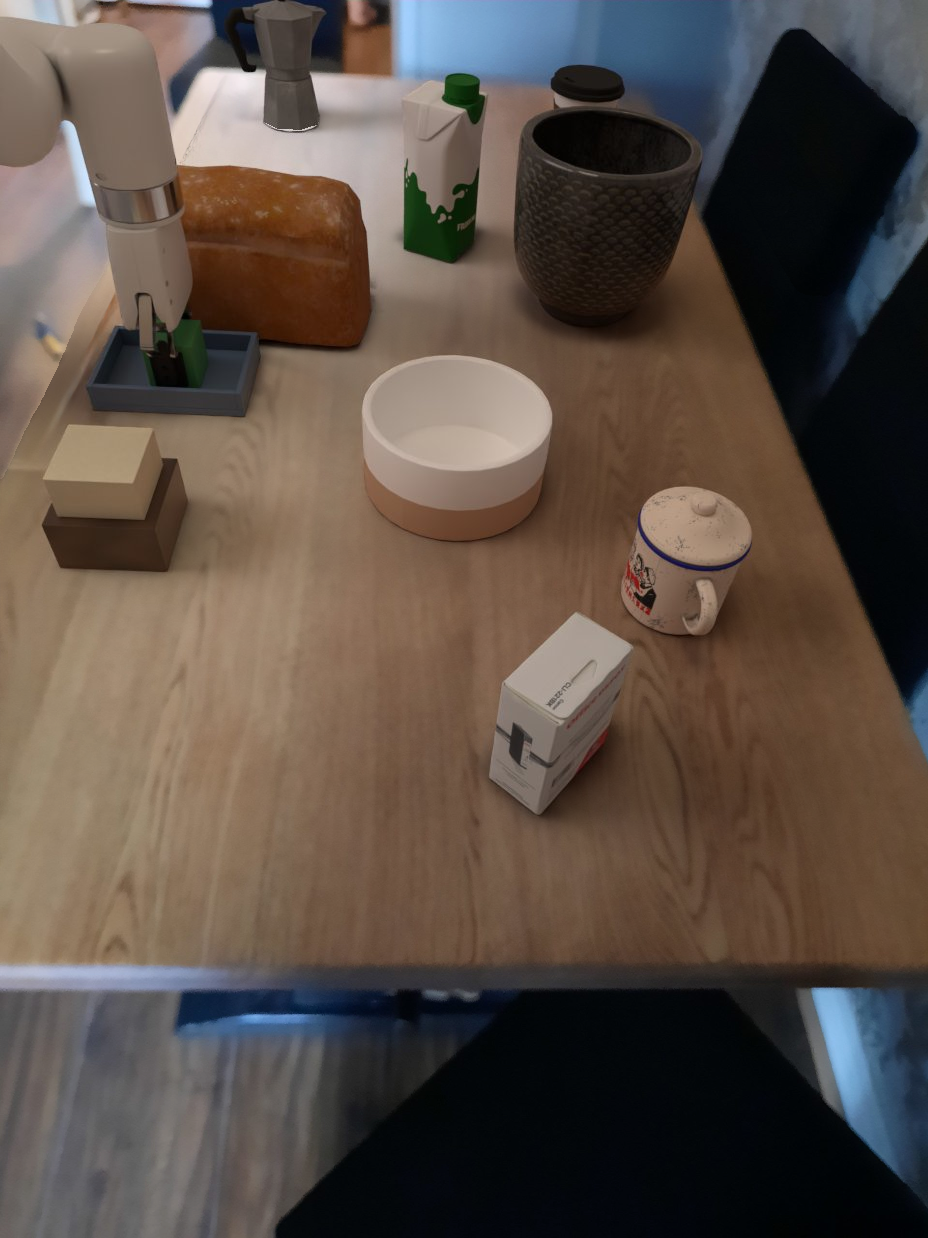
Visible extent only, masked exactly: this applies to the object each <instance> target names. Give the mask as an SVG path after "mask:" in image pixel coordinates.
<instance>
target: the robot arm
mask: <svg viewBox="0 0 928 1238" xmlns="http://www.w3.org/2000/svg"><path fill="white" fill-rule="evenodd" d="M64 121H65V122H70V123H71V124H72V125H73V127H74V129H75V132H76V136H77V139H78V144H79V147H80V150H81V155H82V158H83V161H84V162H83V163H84V165H85V166H84V167H85V169H86V173H87V176H88V181H89V184H90V189H91V192H92V196H93V199H94V203H95V206H96V211H97V215H98V218H100V220H101V221H102V222H104V223H105V238H106V246H107V253H108V259H109V263H110V264H109V265H110V271H111V275H112V280H113V285H114V289H115V294H116V299H117V303H118V308H119V312H120V317H121V321H122V324H123V326H125V328H126V329H127V330H130V331H131V330H135V329H136V327H138V326H137V325H138V323H139V333H140V348H141V350H143V351H146V352H147V356H148V357H149V360H150V363H151V367H152V371H153V375H154V379H155V383H156V386H157V387H176V388H188V385H189V382H188V378H187V373H186V369H185V364H184V360H183V355H182V353H180V352H178V348H177V341H176V333H175V328H176V327H177V326H178V324H179V322H180V319H186V320H191V319H192V309H191V306H190V303H189V300H188V299H189V296H190V293H191V290H192V284H193V278H192V270H191V264H190V258H189V253H188V248H187V244H186V239H185V235H184V231H183V227H182V223H181V219H180V217H181V216H182V215H183V214H184V211H185V204H184V199H183V194H182V189H181V183H180V178H179V173H178V169H177V165H178V164H177V158H176V152H175V148H174V142H173V137H172V132H171V126H170V120H169V116H168V110H167V105H166V99H165V95H164V90H163V84H162V79H161V75H160V69H159V63H158V58H157V55H156V51H155V48H154V46H153V44H152V42H151V40H150V39H149V37H147V35H145V34H144V33H143V32H142V31H141V30H139V29H137V28H135V27H133V26H129V25H125V24H123V23H122V24H120V23H116V22H115V23H113V22H92V23H85V24H81V25H77V26H70V25H63V24H57V23H50V22H43V21H38V20H33V19H28V18H21V17H15V16H14V17H13V16H0V166H3V167H9V168H25V167H30V166H33V165H35V164H37V163H39V162H41V161H42V160H44V159H45V158H46V157H47V156H48V155H49V154H50V153H51V151H52V150H53V148H54V146H55V145H56V142H57V139H58V136H59V132H60V129H61V123H62V122H64ZM156 319H160V320H161V322H165V323H156ZM156 332H163V333H167V340H168V343H166V342H165V341H164V340H159V339H158V338H157V333H156Z"/></svg>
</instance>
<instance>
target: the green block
mask: <svg viewBox="0 0 928 1238" xmlns="http://www.w3.org/2000/svg"><path fill="white" fill-rule="evenodd" d="M156 323H165V322H161V320H160V319H156ZM156 333H157V338H158V339H159V340H164V341H165V342H166V343H168V340H167V333H163V332H156ZM175 333H176V341H177V348H178V352H180V353H182V355H183V360H184V364H185V369H186V373H187V378H188V382H189V385H188V388H197V389H200V387H201V384H202V381H203V378H204V375H205V372H206V368H207V365H208V357H207V351H206V346H205V341H204V336H203V331H202V326H201V321H200V320H186V319H180V322H179V324H178V326H177V327H176V328H175ZM141 351H142V355H143V358H144V362H145V366H146V370H147V374H148V377H149V381H150V385H151V386H155V387H157V386H156V383H155V379H154V375H153V371H152V367H151V363H150V360H149V357H148V356H147V352H146V351H143V350H141Z"/></svg>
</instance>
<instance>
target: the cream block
mask: <svg viewBox="0 0 928 1238" xmlns="http://www.w3.org/2000/svg"><path fill="white" fill-rule="evenodd" d="M162 458H163V457H162V455H161V452H160V447H159V443H158V440H157V437H156V432H155V429H154V428H153V427H139V426H138V427H137V426H135V427H134V426H117V425H116V426H115V425H114V426H113V425H93V424H70V423H69V424H67V427H66V429H65V431H64V432H63V435H62V437H61V439H60V441H59V443H58V445H57V448H56V450H55V452H54V454H53V456H52V458H51V460H50V462H49V464H48V466H47V469H46V470H45V473H44V475H43V477H42V482H43V484H44V487H45V489H46V492H47V494H48V496H49V499H50V501H51V503H52V504H53V506H54V509H55V511H56V514H57V516H58V517H80V518H105V519H131V520H145V517H146V514H147V511H148V508H149V505H150V502H151V499H152V497H153V494H154V491H155V488H156V485H157V482H158V479H159V476H160V473H161V470H162V467H163V462H162Z"/></svg>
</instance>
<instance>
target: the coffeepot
mask: <svg viewBox="0 0 928 1238" xmlns="http://www.w3.org/2000/svg"><path fill="white" fill-rule="evenodd" d="M325 15H327V12H326V10H324V9H323V7H318V6H316V5H309V4H304V3H301V2H298V1H295V0H270V1H265V2H261V3H257V4H253V6H246V7H245V6H244V7H233V8H231V9H230V10H229V12H228V14H227V16H226V17H225V19H224V21H223V29H224V31H225V34H226V36H227V38H228V40H229V42H230V44H231V48H232V50H233V51H234V54H235V56H236V59H237V61H238V63H239V65H240V68H241V70H242V71H243V72H244V73H256V71H257V68H258V67H257V66H258V65H257V64H250V63H248V58H247V57H248V56H247V52H246V50H245V48H244V46H243V44H242V41H241V37H240V33H239V31H238V29H237V25H238V24H246V25H253V27H254V32H255V35H256V40H257V44H258V48H259V53H260V58H261V61H262V63H263V64H264V65H265V76H264V93H263V94H264V95H263V96H264V97H263V121H262V123H264V122H265V123H267V124H269V125H271V126H273V127H275V128H277V129H293V130H302V129H305V128H308V127H311V126H315V125H318V126H319V124H318V122H319V123H320V118H321V116H320V115H321V114H320V110H319V106H318V100H317V97H316V92H315V88H314V83H313V78H312V75H311V73H310V64H311V61H312V46H313V44H312V43H313V40H314V37H315V35H316V32H317V30H318V27H319V25H320V23H321V22H322V20H323V18H324V16H325ZM319 117H320V118H319ZM265 123H264V124H265Z"/></svg>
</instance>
